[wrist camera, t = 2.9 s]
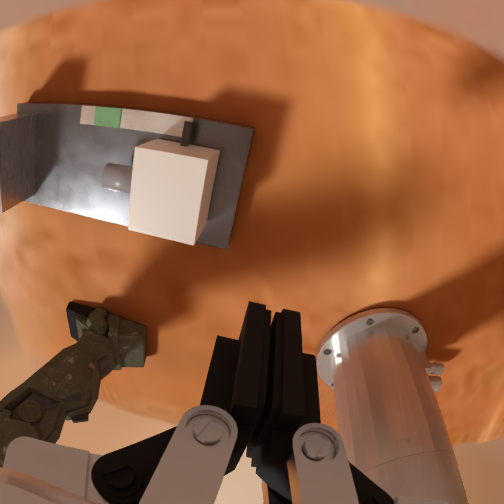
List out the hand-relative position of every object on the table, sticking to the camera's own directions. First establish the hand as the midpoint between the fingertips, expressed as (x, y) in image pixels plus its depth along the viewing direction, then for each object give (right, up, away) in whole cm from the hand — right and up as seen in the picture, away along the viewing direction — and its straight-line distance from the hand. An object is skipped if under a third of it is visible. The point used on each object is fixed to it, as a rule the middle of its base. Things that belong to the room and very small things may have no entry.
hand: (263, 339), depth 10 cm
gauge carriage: (-7, +9, +13) cm, 18 cm away
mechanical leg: (-17, -6, +24) cm, 30 cm away
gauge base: (-12, +11, +15) cm, 22 cm away
